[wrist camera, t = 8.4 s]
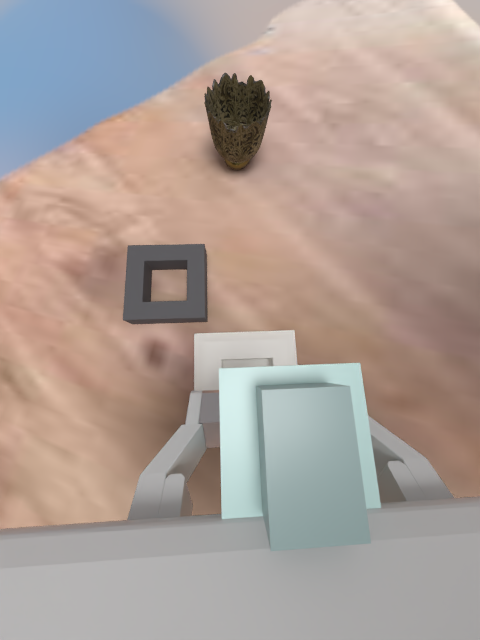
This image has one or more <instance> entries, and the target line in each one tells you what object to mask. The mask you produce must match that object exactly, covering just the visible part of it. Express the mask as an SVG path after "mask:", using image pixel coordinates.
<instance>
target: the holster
mask: <svg viewBox="0 0 480 640" xmlns="http://www.w3.org/2000/svg"><path fill="white" fill-rule="evenodd" d="M167 269H187V301H160V302H150V301H151V277H152V270H167ZM123 320H124V321H127V322H129V323H131V324H153V323H184V322H207V254H206V249H205V245H204V244H185V245H132V246H128V252H127V267H126V282H125V297H124V312H123Z"/></svg>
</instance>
